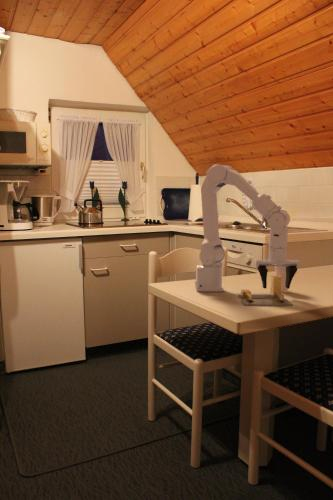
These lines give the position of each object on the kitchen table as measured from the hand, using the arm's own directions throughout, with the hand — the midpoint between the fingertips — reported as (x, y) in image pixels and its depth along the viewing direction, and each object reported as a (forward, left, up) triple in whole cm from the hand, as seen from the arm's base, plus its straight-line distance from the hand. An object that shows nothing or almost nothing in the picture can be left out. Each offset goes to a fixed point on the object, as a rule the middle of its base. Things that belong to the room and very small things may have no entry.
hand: (275, 287), depth 139 cm
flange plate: (-5, -7, -3) cm, 9 cm away
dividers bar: (-5, -3, -3) cm, 7 cm away
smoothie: (+5, +10, -4) cm, 11 cm away
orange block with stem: (0, -3, -3) cm, 4 cm away
